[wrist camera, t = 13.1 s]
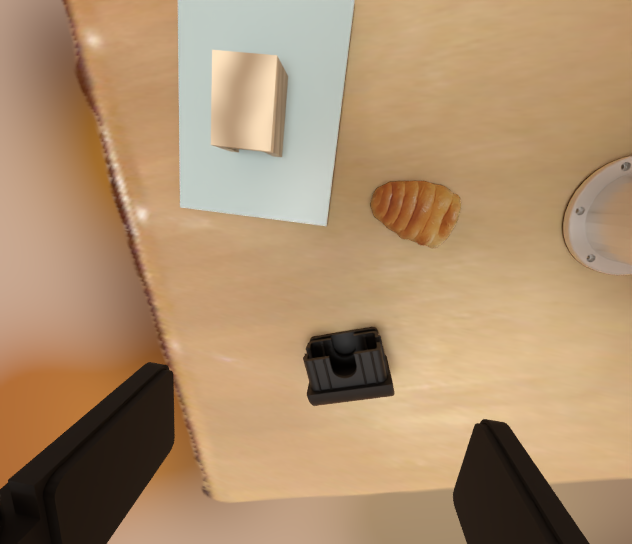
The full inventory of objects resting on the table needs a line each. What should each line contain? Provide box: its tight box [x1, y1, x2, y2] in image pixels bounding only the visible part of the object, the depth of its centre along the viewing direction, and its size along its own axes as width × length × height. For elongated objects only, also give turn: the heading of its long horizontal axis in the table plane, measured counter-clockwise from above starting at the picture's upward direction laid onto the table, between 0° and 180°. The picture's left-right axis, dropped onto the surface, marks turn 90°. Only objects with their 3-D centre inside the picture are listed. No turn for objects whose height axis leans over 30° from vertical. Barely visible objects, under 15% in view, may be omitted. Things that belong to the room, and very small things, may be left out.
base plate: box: [178, 0, 354, 226], centre depth 31 cm, size 18×22×4 cm
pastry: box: [371, 181, 461, 248], centre depth 32 cm, size 9×7×4 cm
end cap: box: [303, 327, 394, 406], centre depth 37 cm, size 10×7×7 cm
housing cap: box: [211, 50, 288, 157], centre depth 30 cm, size 6×8×5 cm
